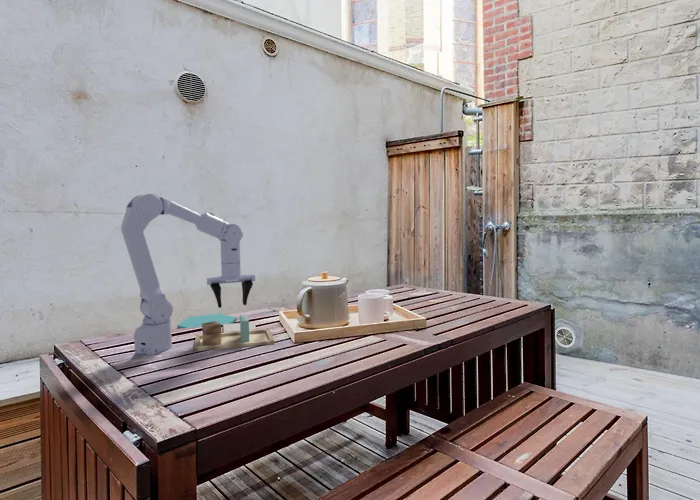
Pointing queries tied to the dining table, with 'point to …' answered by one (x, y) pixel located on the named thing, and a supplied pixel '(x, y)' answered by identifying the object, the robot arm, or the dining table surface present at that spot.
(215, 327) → the offcut
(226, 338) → the wooden tray
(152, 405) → the dining table surface
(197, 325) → the plaque
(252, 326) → the tile
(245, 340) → the panel
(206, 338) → the offcut
